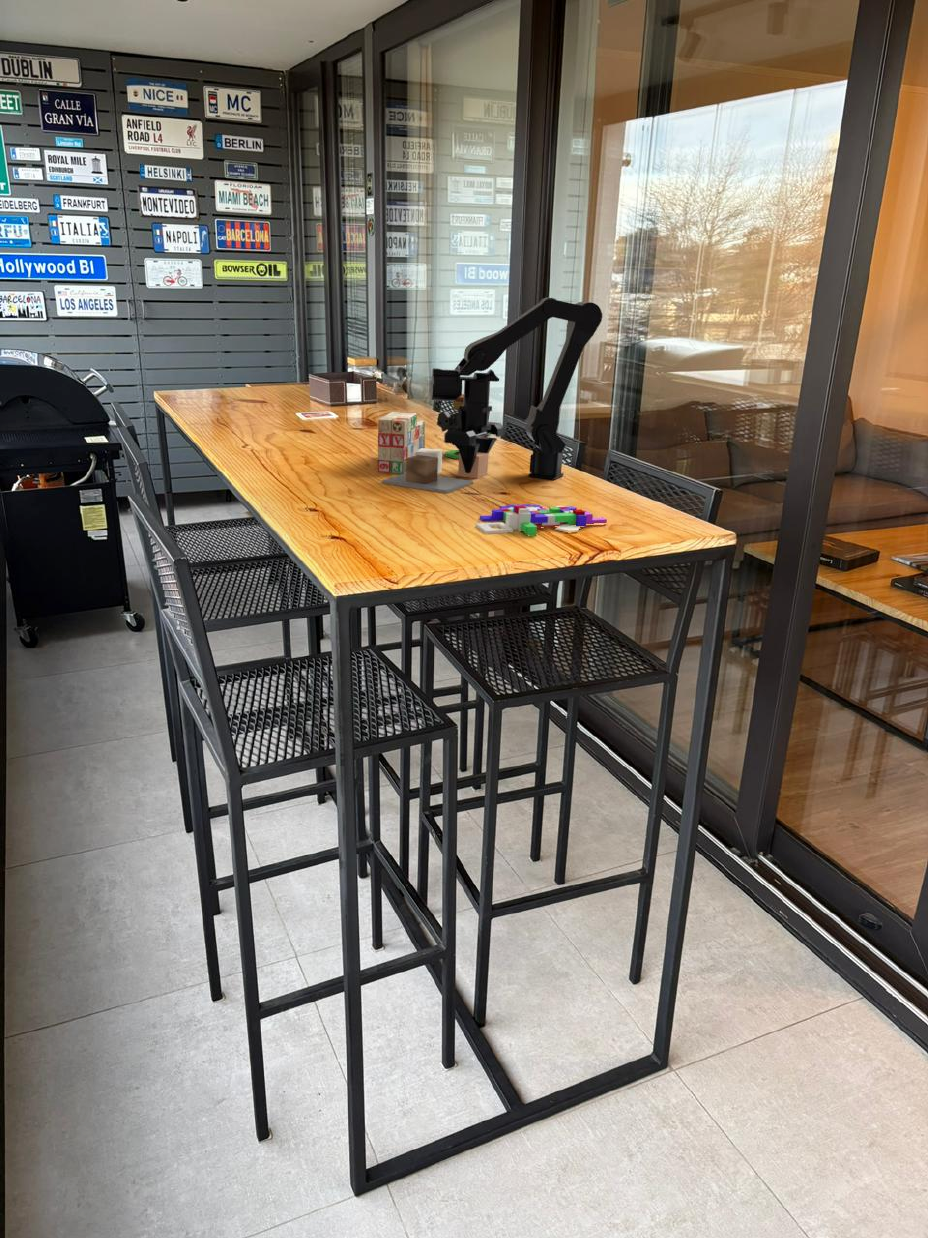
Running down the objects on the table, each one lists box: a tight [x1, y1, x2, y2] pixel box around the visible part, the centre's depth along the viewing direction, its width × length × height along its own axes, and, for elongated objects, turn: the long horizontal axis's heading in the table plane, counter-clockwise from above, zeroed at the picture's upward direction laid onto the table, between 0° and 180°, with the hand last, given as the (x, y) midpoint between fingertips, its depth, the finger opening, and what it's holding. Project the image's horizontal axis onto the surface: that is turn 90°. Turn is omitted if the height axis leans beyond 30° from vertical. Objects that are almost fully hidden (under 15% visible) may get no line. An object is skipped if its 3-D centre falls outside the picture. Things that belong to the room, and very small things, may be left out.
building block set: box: [475, 503, 608, 536], centre depth 170 cm, size 25×20×4 cm
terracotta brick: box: [457, 452, 489, 479], centre depth 206 cm, size 5×5×5 cm
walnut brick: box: [406, 455, 438, 484], centre depth 195 cm, size 5×5×5 cm
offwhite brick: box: [416, 447, 443, 475], centre depth 208 cm, size 5×5×5 cm
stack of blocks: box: [377, 411, 426, 475], centre depth 213 cm, size 21×6×12 cm, turn 169°
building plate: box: [381, 473, 474, 494], centre depth 197 cm, size 16×12×1 cm
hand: (473, 470), depth 207 cm, fingers closed on terracotta brick, 5 cm apart
